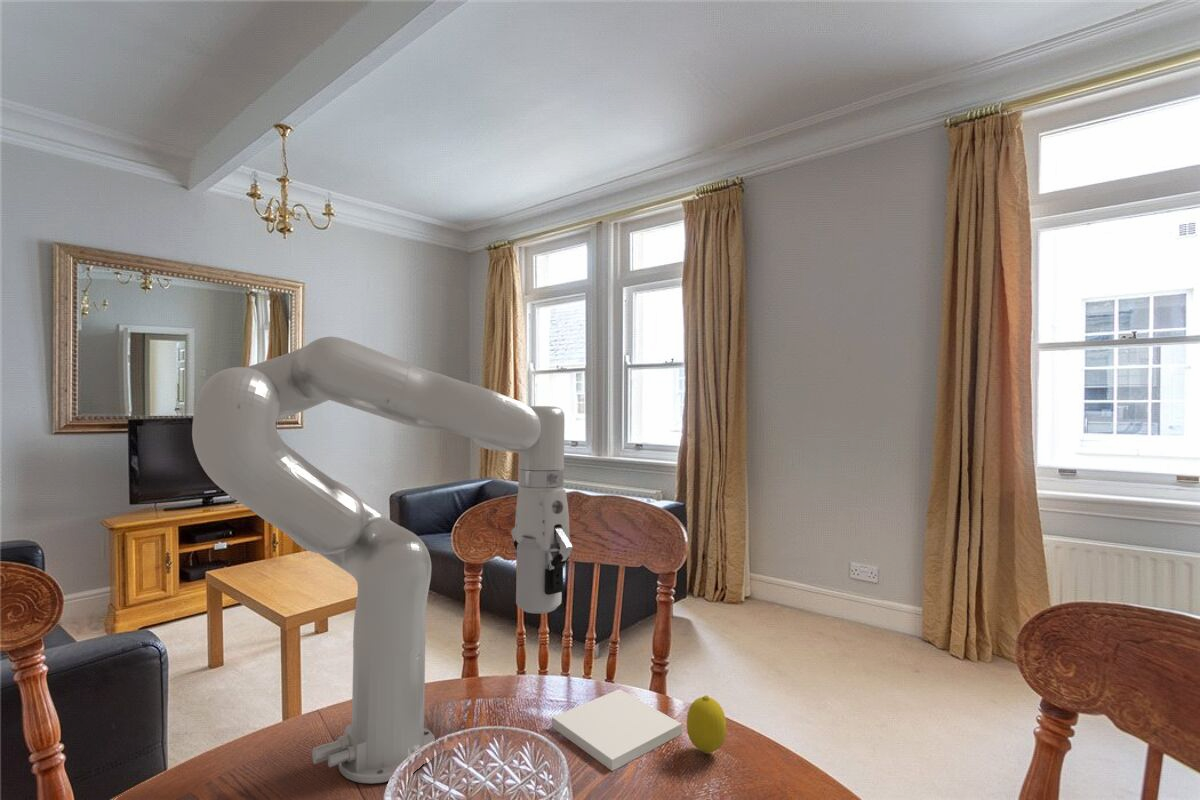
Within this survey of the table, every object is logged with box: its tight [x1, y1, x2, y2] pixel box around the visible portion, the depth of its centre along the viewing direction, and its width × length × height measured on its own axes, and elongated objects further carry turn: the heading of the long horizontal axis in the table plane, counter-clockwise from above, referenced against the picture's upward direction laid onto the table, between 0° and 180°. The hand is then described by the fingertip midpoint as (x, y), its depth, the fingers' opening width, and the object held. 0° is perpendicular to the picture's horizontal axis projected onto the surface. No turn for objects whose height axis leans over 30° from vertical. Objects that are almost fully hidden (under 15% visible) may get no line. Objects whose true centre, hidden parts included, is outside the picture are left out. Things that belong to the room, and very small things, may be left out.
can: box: [515, 535, 563, 614], centre depth 93 cm, size 8×8×12 cm
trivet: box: [551, 688, 683, 772], centre depth 85 cm, size 14×14×2 cm
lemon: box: [686, 695, 727, 755], centre depth 80 cm, size 6×6×8 cm
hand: (539, 586), depth 93 cm, fingers closed on can, 7 cm apart
